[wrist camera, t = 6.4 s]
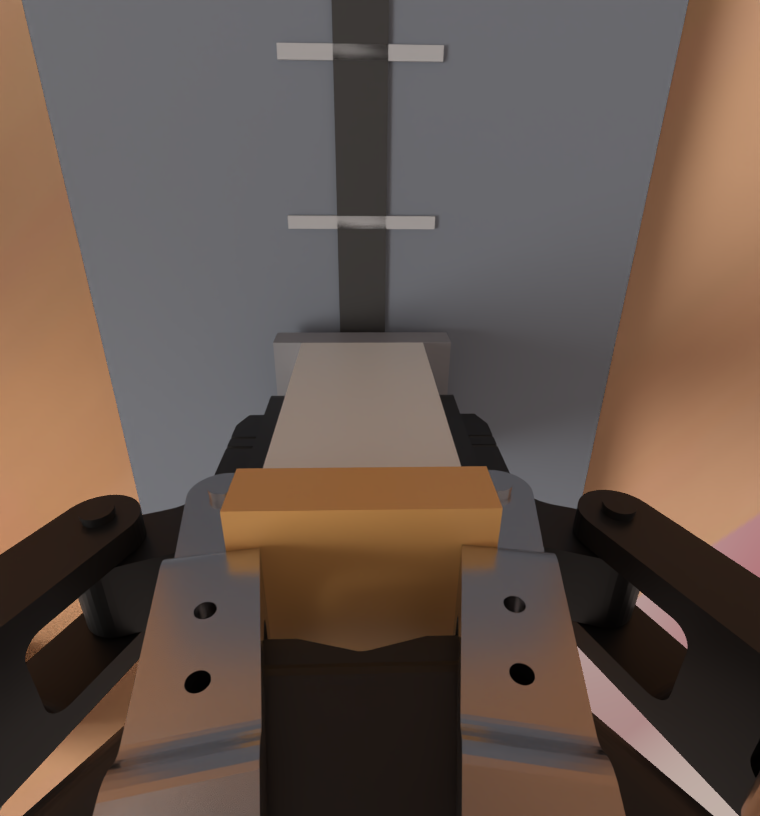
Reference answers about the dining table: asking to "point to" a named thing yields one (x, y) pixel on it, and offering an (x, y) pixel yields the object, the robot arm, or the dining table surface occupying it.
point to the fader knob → (361, 492)
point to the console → (356, 201)
